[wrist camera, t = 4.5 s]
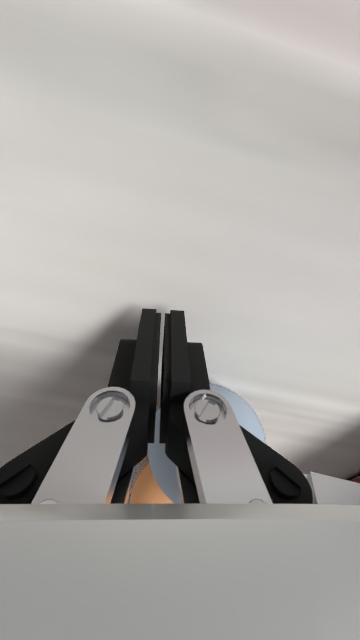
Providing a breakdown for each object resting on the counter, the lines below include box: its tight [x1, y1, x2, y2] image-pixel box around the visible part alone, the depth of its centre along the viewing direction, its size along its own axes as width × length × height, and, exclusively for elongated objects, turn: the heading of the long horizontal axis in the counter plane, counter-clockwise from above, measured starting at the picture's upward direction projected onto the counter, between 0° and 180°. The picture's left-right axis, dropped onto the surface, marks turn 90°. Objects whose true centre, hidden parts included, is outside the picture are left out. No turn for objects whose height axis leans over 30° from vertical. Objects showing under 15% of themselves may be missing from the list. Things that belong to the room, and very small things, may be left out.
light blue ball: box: [148, 384, 266, 504], centre depth 12 cm, size 6×6×6 cm
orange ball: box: [129, 463, 175, 504], centre depth 15 cm, size 6×6×6 cm
